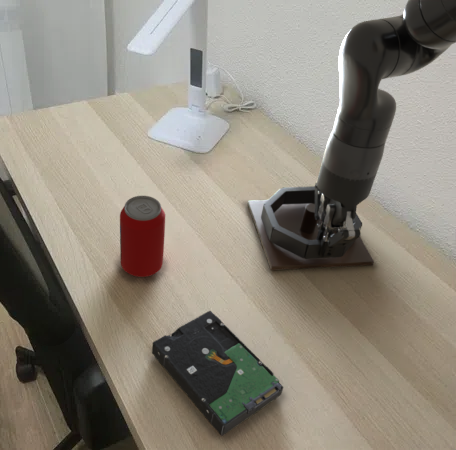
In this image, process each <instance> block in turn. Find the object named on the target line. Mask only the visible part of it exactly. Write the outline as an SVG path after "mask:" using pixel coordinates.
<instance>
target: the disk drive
mask: <svg viewBox="0 0 456 450" xmlns="http://www.w3.org/2000/svg"><path fill="white" fill-rule="evenodd" d="M151 348H152V349H151V353H152V355H153V356H154V357H155V359H156V360H157V362H158V363H160V365H161V366H162V367H163V368H164V370H165V371H166V372H167V374H168V375H169V376H170V377H171V378H172V379H173V380H174V381H175V383H176V384H177V386H179V387H180V389H181V390H182V391H183V392H184V393H185V394H186V395H187V397H188V398H189V399H190V401H191V402H192V404H194V406H195V407H196V408H197V410H199V412H200V413H201V414H202V415H203V416H204V417H205V419H206V420H207V421H208V423H210V425H211V426H212V427H213V428H214V429H215V430H216V431H217V433H218V434H219V435H220V436H222V437H223V436H225V435H226V434H227V433H229V432H230V431H232V430H234V429H235V428H236V427H239V426H240V425H241V424H242V423H244V422H245V421H246V420H248V419H249V418H251V417H252V416H253V415H255V414H256V413H258V412H260V410H262V409H263V408H265V407H266V406H267V405H269V404H270V403H272V402H273V401H275V400H276V399H277V398H278V397H279V398H280V397H281V395H282V393H283V389H284V386H283V385H282V384H281V383H280V380H279V378H278V377H277V376H275V375H274V372H273V371H272V370H271V369H270V368H269V367H268V366H267V365H266V364H264V362H262V361H261V359H260V358H259V357H257V355H256V354H255V353H254V352H253V351H252V350H251V349H250V348H249V347H248V346H247V345H246V344H245V343H244V342H243V341H242V340H240V338H239V337H238V336H237V335H236V334H235V333H234V332H233V331H232V330H231V329H230V328H229V327H228V326H227V325H225V323H224V322H223V321H222V320H221V319H220V318H219V317H218V316H217V315H216V314H215V313H213V312H212V310H208V311H207V312H205V313H202V314H201V315H199V316H198V317H196V318H194V319H192V320H190V321H188V322H186V323H185V324H183V325H181V326H179V327H178V328H177V329H176V330H175V331H174V332H172V333H171V335H163V336H161V337H159V338H158V339H156V340H154V341H153V342H152V347H151Z"/></svg>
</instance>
